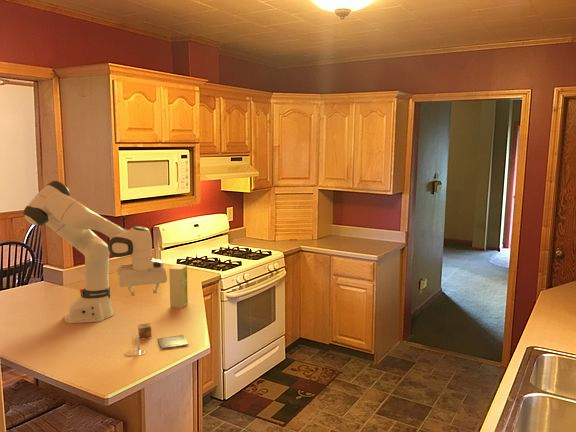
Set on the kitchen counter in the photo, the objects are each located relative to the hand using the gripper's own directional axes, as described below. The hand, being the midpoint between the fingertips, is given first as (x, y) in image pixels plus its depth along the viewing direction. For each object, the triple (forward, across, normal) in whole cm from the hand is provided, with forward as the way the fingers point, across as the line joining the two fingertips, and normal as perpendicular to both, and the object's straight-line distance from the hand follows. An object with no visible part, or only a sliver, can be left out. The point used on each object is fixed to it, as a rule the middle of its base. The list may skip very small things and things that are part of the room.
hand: (143, 294), depth 216 cm
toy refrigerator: (+19, +20, +36) cm, 45 cm away
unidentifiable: (+19, -6, -19) cm, 27 cm away
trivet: (+19, +10, -13) cm, 25 cm away
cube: (+19, 0, -1) cm, 19 cm away
